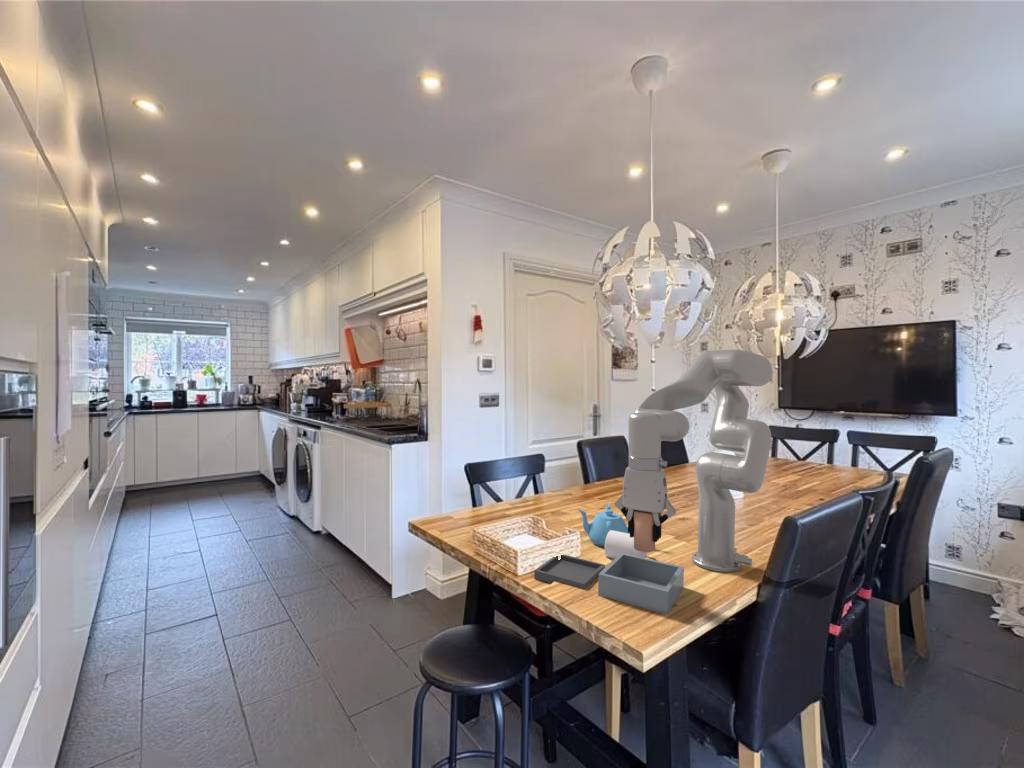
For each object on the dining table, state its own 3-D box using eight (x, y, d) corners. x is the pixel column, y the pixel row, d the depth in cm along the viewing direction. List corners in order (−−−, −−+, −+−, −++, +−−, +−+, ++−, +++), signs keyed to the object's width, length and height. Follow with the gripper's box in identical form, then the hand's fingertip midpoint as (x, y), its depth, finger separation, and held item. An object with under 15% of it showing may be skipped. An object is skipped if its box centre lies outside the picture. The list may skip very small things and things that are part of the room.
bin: (683, 590, 113) (683, 566, 112) (667, 619, 99) (667, 591, 99) (620, 575, 121) (621, 552, 121) (598, 599, 108) (598, 574, 108)
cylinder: (657, 546, 111) (657, 510, 111) (651, 553, 107) (651, 516, 107) (637, 542, 114) (637, 507, 114) (631, 549, 110) (631, 512, 109)
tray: (605, 572, 122) (605, 564, 122) (584, 593, 111) (584, 584, 111) (558, 560, 130) (558, 553, 130) (534, 578, 118) (534, 570, 118)
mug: (638, 570, 125) (639, 541, 124) (604, 562, 130) (604, 534, 130) (650, 556, 135) (651, 529, 135) (618, 549, 140) (618, 523, 140)
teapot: (607, 554, 136) (608, 520, 136) (574, 538, 149) (575, 507, 148) (641, 545, 144) (641, 512, 144) (607, 531, 156) (607, 501, 156)
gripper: (684, 464, 108) (684, 540, 109) (615, 457, 117) (615, 527, 118) (677, 470, 102) (677, 550, 103) (605, 462, 111) (605, 536, 112)
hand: (644, 537), depth 110 cm, fingers closed on cylinder, 5 cm apart
